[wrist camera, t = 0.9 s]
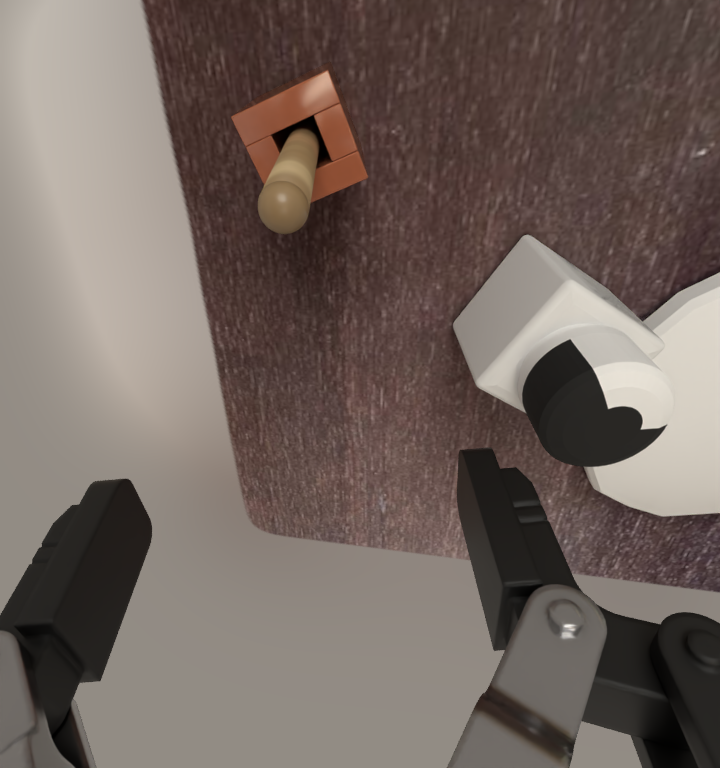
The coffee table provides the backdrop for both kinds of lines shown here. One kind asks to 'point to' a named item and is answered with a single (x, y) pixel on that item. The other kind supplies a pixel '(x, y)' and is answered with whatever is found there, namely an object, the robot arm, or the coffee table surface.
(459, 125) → the coffee table surface
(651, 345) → the container
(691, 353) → the decorative plate
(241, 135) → the utensil block
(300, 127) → the cooking stick
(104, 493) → the robot arm
